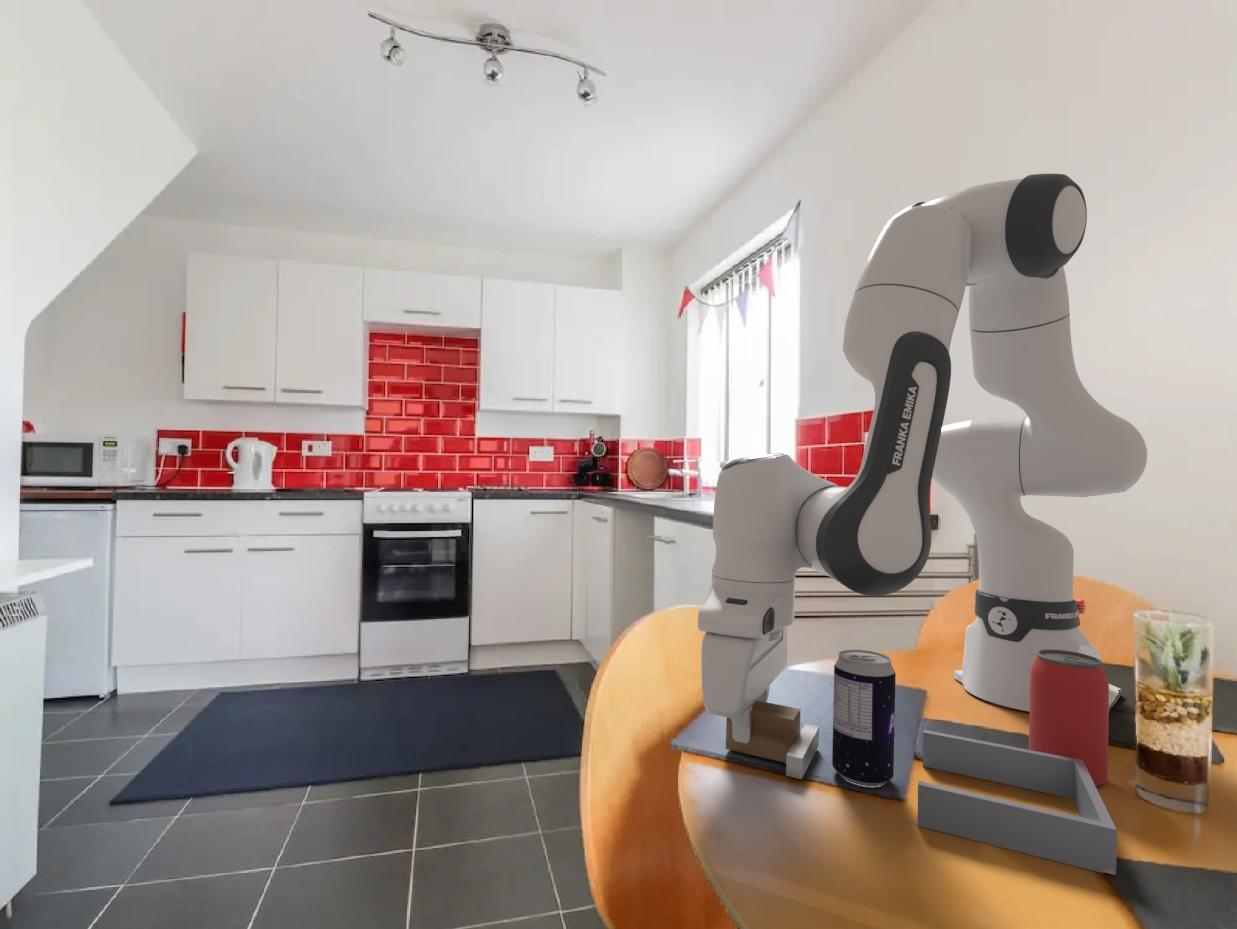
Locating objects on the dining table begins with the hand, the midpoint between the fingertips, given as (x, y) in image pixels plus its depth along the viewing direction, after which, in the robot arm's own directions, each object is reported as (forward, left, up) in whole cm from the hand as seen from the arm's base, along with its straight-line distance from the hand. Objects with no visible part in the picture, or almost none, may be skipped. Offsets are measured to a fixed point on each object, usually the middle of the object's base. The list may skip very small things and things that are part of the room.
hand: (749, 731), depth 68 cm
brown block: (-1, +1, -2) cm, 2 cm away
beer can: (-25, +20, -2) cm, 32 cm away
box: (-12, +20, -2) cm, 24 cm away
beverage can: (-6, +10, -2) cm, 12 cm away
